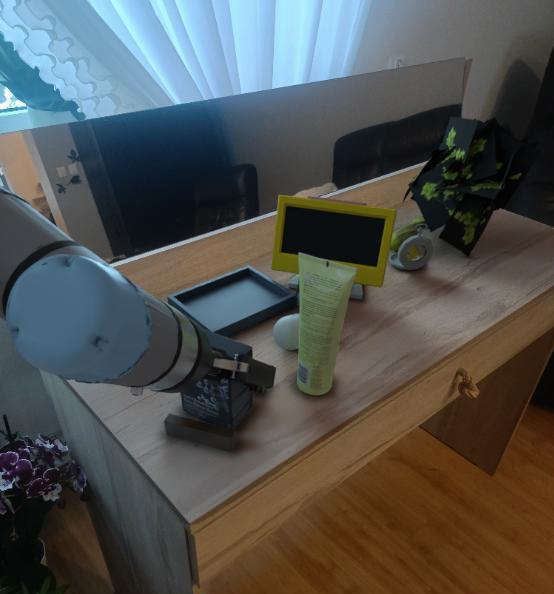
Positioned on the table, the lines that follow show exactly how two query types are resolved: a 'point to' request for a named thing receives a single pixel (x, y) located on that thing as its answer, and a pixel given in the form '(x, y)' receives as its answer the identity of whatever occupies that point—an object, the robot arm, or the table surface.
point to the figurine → (287, 332)
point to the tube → (321, 320)
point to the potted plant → (467, 181)
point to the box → (220, 391)
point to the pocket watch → (413, 252)
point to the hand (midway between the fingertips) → (224, 373)
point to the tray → (233, 301)
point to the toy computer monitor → (333, 237)
